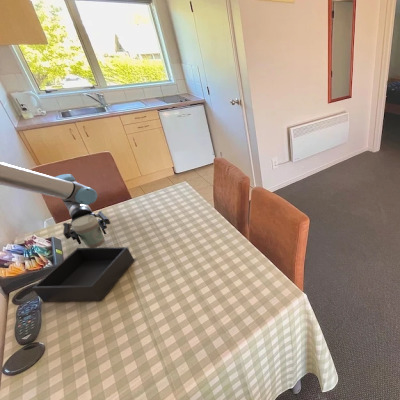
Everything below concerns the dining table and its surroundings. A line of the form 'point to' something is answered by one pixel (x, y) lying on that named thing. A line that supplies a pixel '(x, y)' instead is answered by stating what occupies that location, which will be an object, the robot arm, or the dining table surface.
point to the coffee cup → (88, 230)
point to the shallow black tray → (84, 275)
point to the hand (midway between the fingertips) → (91, 236)
